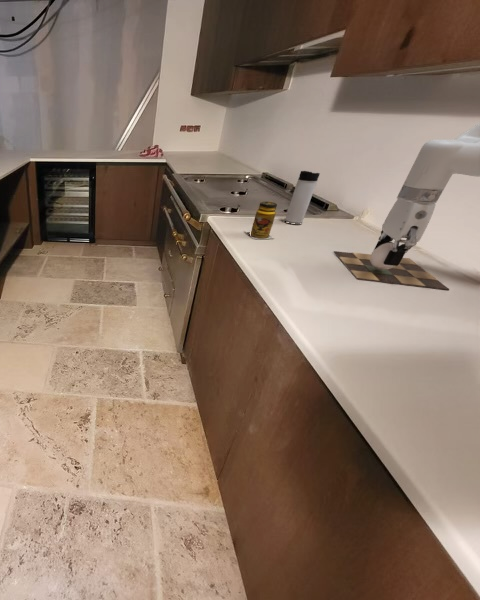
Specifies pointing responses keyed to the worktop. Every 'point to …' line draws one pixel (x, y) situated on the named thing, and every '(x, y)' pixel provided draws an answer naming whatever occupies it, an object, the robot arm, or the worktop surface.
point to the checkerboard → (389, 271)
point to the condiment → (263, 221)
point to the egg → (381, 256)
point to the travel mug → (301, 197)
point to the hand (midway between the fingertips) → (384, 259)
